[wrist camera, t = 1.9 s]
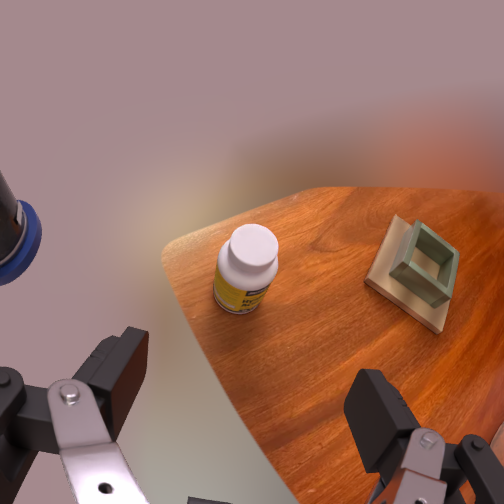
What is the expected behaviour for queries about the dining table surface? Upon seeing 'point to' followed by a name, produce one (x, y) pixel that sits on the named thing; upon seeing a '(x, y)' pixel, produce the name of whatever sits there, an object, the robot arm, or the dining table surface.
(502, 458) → the pottery
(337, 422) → the dining table surface
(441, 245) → the holder
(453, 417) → the dining table surface
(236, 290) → the supplement bottle
